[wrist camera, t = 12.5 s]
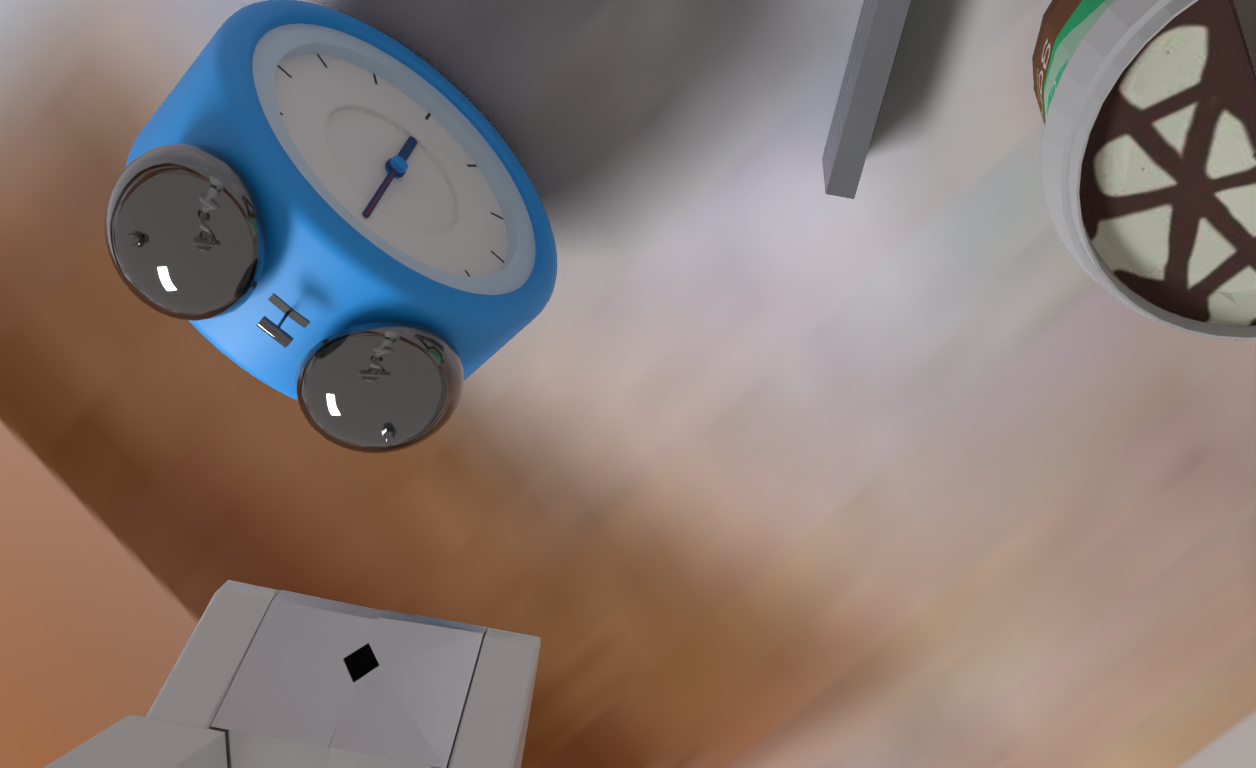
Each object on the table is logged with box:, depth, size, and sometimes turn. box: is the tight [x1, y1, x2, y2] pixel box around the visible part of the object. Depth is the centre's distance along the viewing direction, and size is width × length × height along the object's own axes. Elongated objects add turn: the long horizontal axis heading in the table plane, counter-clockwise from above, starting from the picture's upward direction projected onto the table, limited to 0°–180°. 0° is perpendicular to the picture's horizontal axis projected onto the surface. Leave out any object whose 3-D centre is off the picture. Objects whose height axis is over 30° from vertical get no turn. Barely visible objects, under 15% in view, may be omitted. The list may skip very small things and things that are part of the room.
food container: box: [1032, 0, 1256, 340], centre depth 36 cm, size 12×6×10 cm, turn 30°
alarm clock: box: [105, 0, 557, 453], centre depth 38 cm, size 13×6×15 cm, turn 46°
